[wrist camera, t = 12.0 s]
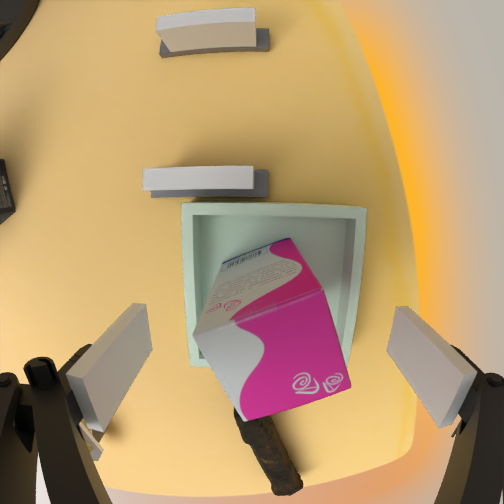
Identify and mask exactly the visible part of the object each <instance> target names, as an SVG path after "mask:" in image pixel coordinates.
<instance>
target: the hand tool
mask: <svg viewBox="0 0 504 504" xmlns="http://www.w3.org/2000/svg"><path fill="white" fill-rule="evenodd" d="M234 417H235V420H236V423H237V426H238V427H239V430H240V433H241V436H242V439H243V441H244V442H245V443H246V444H249V445H250V446H251V448H252V449H253V452H254V454H255V456H256V458H257V460H258V462H259V464H260V465H261V467H262V469H263V471H264V472H265V474H266V476H267V478H268V479H269V481H270V482H271V489H272V491H273V493H274V494H275V495H277V496H281V495H282V496H285V495H289V496H290V495H292V494H294V493H296V492H297V491H299V490H301V489H302V488H303V481H302V480H301V476H300V475H299V473H297V471H296V469H295V468H294V467H293V463H292V461H291V460H289V457H288V455H287V452H286V449H285V448H284V446H283V444H282V442H281V440H280V438H279V435H278V433H277V431H276V429H275V426H274V424H273V422H272V419H271V416H270V415H268V416H264V417H260V418H257V419H253V420H249V421H243V420H242V418H241V416H240V415H239V413H238V412H237V410H236V409H235V407H234Z"/></svg>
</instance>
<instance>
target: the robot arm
mask: <svg viewBox="0 0 504 504" xmlns="http://www.w3.org/2000/svg"><path fill="white" fill-rule="evenodd" d="M38 2H39V0H0V60H1V59H2V57H3V56H4V55H5V54H6V53H7V52H8V50H9V49H10V48H11V47H12V45H13V44H14V43H15V41H16V40H17V39H18V37H19V36H20V34H21V33H22V31H23V30H24V28H25V27H26V25H27V24H28V22H29V20H30V19H31V17H32V15H33V13H34V11H35V9H36V7H37V4H38ZM151 351H152V344H151V337H150V330H149V323H148V316H147V308H146V304H137V303H133V304H132V305H131V306H130V307H129V308H128V309H127V310H126V311H125V312H124V313H123V314H122V315H121V316H120V317H119V318H118V319H117V320H116V321H115V322H114V323H113V324H112V325H111V326H110V327H109V328H108V329H107V330H106V331H105V332H104V333H103V334H102V335H101V336H100V337H99V338H98V340H97V341H96V342H95V343H94V344H93V345H92V344H87V345H86V346H84V347H82V348H80V349H79V350H78V351H77V352H76V353H75V354H74V356H72V357H71V358H70V359H69V361H67V362H66V363H65V364H64V365H63V367H62V368H61V369H60V370H59V371H58V372H57V370H56V367H55V364H54V362H53V360H52V359H50V358H48V357H37V358H34V359H31V360H30V361H28V362H27V363H26V364H25V365H24V372H25V374H26V377H27V379H28V381H29V384H20V383H19V381H18V378H17V376H16V375H15V374H13V373H10V372H6V373H1V374H0V504H36V472H37V458H38V453H39V458H40V463H41V467H42V472H43V476H44V480H45V484H46V488H47V492H48V496H49V499H50V502H51V504H112V502H111V500H110V498H109V496H108V494H107V492H106V490H105V487H104V485H103V483H102V481H101V479H100V476H99V474H98V472H97V469H96V467H95V464H94V462H93V459H92V457H91V454H90V451H89V449H88V446H87V443H86V440H85V438H84V435H83V432H82V429H81V427H80V425H79V423H80V422H81V420H82V419H83V418H84V421H85V423H86V425H87V427H88V428H90V429H94V430H97V431H100V432H105V430H106V428H107V426H108V424H109V423H110V421H111V419H112V417H113V416H114V414H115V412H116V410H117V409H118V407H119V405H120V403H121V402H122V400H123V398H124V396H125V395H126V393H127V391H128V390H129V388H130V386H131V384H132V383H133V381H134V379H135V378H136V376H137V374H138V373H139V371H140V369H141V368H142V366H143V364H144V363H145V361H146V359H147V358H148V356H149V354H150V353H151ZM387 352H388V354H389V355H390V356H391V358H392V359H393V361H394V362H395V364H396V365H397V366H398V368H399V369H400V371H401V372H402V374H403V375H404V377H405V378H406V380H407V381H408V382H409V384H410V385H411V387H412V388H413V390H414V391H415V393H416V394H417V396H418V397H419V399H420V400H421V402H422V403H423V405H424V406H425V408H426V410H427V411H428V413H429V414H430V416H431V417H432V419H433V420H434V422H435V423H436V425H437V427H438V428H442V427H444V426H448V425H451V424H452V423H453V421H454V420H455V418H456V416H457V414H459V415H460V417H461V418H462V419H461V421H460V423H459V424H458V426H457V428H456V430H455V431H454V433H453V434H452V436H451V437H454V435H455V434H456V437H455V441H454V445H453V449H452V452H451V456H450V459H449V463H448V466H447V469H446V472H445V475H444V478H443V481H442V484H441V487H440V490H439V492H438V495H437V497H436V500H435V502H434V504H499V503H500V497H501V492H502V490H503V504H504V378H503V377H502V376H500V375H499V374H495V373H486V374H484V373H483V372H482V371H481V370H480V369H479V368H478V367H477V366H476V365H475V364H474V363H473V362H472V361H471V360H470V359H469V358H468V357H467V356H465V354H464V353H463V352H462V351H461V350H460V349H458V348H456V347H454V346H453V345H449V344H448V343H447V342H446V341H445V340H444V339H443V338H442V337H441V336H440V335H439V334H438V333H437V332H436V331H435V330H434V329H432V328H431V327H430V326H429V325H428V324H427V323H426V322H425V321H424V320H423V319H422V318H421V317H419V316H418V315H417V314H416V313H415V312H414V311H413V310H412V309H410V308H409V307H408V306H402V307H396V310H395V315H394V320H393V325H392V330H391V334H390V338H389V342H388V347H387Z"/></svg>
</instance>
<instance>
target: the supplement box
mask: <svg viewBox="0 0 504 504" xmlns="http://www.w3.org/2000/svg"><path fill="white" fill-rule="evenodd" d="M192 336H193V338H194V340H195V342H196V344H197V345H198V347H199V349H200V351H201V352H202V354H203V356H204V357H205V359H206V361H207V362H208V364H209V366H210V368H211V369H212V371H213V373H214V374H215V376H216V378H217V379H218V381H219V382H220V384H221V386H222V387H223V389H224V391H225V392H226V394H227V396H228V397H229V399H230V400H231V402H232V404H233V405H234V407H235V409H236V410H237V412H238V413H239V415H240V416H241V418H242V420H243V421H249V420H253V419H257V418H260V417H264V416H268V415H272V414H275V413H279V412H282V411H285V410H289V409H292V408H295V407H298V406H301V405H305V404H308V403H311V402H314V401H316V400H319V399H322V398H325V397H328V396H331V395H333V394H336V393H339V392H341V391H344V390H346V389H349V388H351V382H350V379H349V375H348V371H347V368H346V364H345V360H344V357H343V353H342V349H341V346H340V342H339V338H338V335H337V331H336V328H335V325H334V321H333V318H332V315H331V311H330V308H329V305H328V302H327V298H326V295H325V292H324V289H323V287H322V286H321V284H320V283H319V281H318V279H317V278H316V277H315V275H314V274H313V272H312V270H311V269H310V267H309V265H308V264H307V262H306V261H305V259H304V258H303V256H302V255H301V253H300V252H299V250H298V249H297V247H296V245H295V244H294V242H293V241H292V239H291V238H285V239H282V240H279V241H276V242H274V243H271V244H268V245H266V246H263V247H261V248H258V249H255V250H253V251H250V252H247V253H245V254H242V255H240V256H237V257H235V258H232V259H230V260H228V261H225V262H223V263H222V265H221V267H220V270H219V272H218V274H217V277H216V279H215V281H214V284H213V286H212V289H211V291H210V294H209V296H208V298H207V300H206V303H205V305H204V308H203V310H202V313H201V315H200V317H199V319H198V322H197V324H196V327H195V329H194V332H193V334H192Z"/></svg>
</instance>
